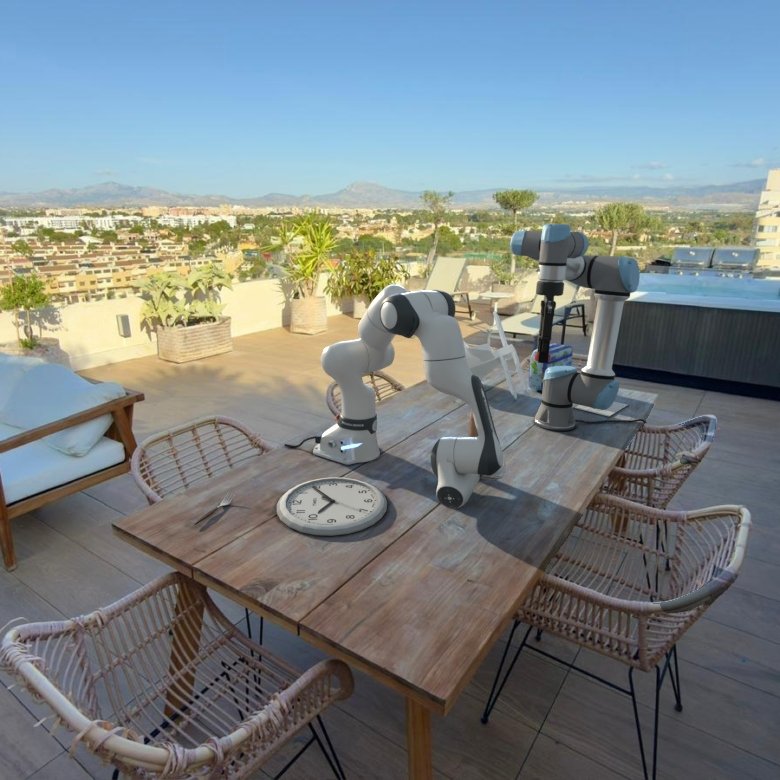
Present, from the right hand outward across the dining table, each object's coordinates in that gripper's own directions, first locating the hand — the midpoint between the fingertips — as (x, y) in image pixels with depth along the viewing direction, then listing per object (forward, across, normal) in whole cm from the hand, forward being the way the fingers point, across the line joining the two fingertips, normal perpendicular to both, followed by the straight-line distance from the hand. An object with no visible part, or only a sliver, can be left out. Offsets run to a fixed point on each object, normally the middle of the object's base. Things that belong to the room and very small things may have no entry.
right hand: (542, 360), depth 155 cm
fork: (+36, +46, -83) cm, 102 cm away
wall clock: (+36, +36, -54) cm, 74 cm away
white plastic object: (+36, -79, -20) cm, 89 cm away
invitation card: (+36, -71, +33) cm, 86 cm away
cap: (-2, 0, 0) cm, 2 cm away
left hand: (+29, +7, -17) cm, 35 cm away
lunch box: (+36, -95, +13) cm, 102 cm away
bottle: (+36, +8, -17) cm, 41 cm away
